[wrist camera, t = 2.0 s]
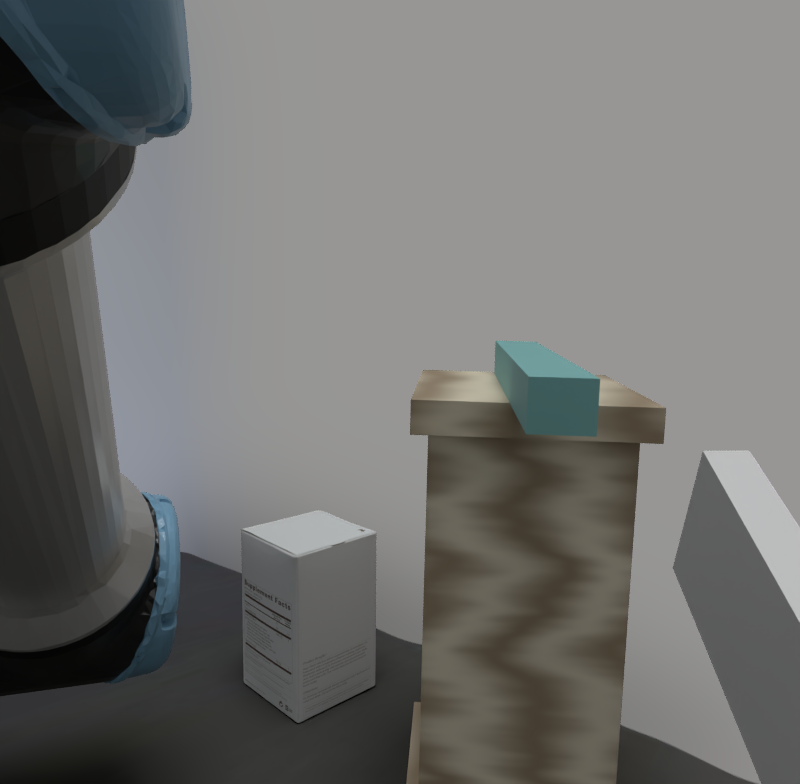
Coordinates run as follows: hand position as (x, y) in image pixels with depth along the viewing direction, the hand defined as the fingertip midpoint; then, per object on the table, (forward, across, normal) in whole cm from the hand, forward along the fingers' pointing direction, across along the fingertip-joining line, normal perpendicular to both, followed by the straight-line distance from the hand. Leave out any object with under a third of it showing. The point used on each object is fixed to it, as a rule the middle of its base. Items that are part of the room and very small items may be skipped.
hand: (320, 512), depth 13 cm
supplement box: (+31, -9, -49) cm, 59 cm away
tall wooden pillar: (+18, +8, -44) cm, 48 cm away
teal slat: (+26, +8, -14) cm, 31 cm away
